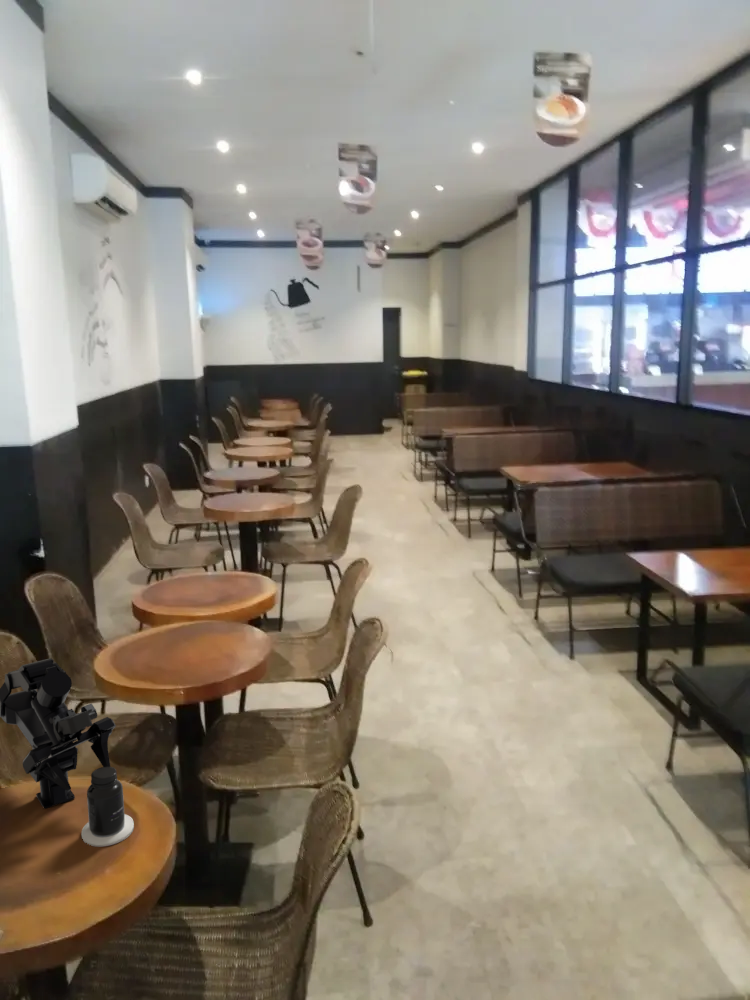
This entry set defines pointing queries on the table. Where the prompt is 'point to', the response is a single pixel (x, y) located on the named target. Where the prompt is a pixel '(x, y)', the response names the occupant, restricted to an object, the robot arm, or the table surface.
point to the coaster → (108, 839)
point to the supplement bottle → (105, 802)
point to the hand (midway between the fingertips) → (89, 779)
